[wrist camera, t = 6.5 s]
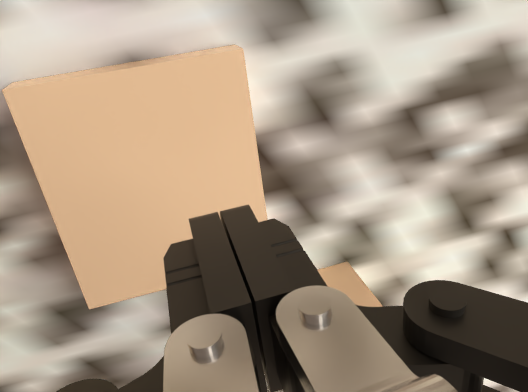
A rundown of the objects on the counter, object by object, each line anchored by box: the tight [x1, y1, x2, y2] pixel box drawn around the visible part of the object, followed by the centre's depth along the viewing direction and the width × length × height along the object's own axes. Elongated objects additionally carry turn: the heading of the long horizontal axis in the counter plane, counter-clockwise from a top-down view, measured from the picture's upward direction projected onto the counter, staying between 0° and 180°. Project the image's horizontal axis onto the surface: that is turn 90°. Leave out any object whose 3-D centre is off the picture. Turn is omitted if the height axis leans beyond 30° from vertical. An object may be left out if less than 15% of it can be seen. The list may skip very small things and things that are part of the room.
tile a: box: [2, 45, 267, 309], centre depth 15 cm, size 8×2×7 cm
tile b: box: [317, 262, 383, 307], centre depth 18 cm, size 8×2×7 cm, turn 8°
